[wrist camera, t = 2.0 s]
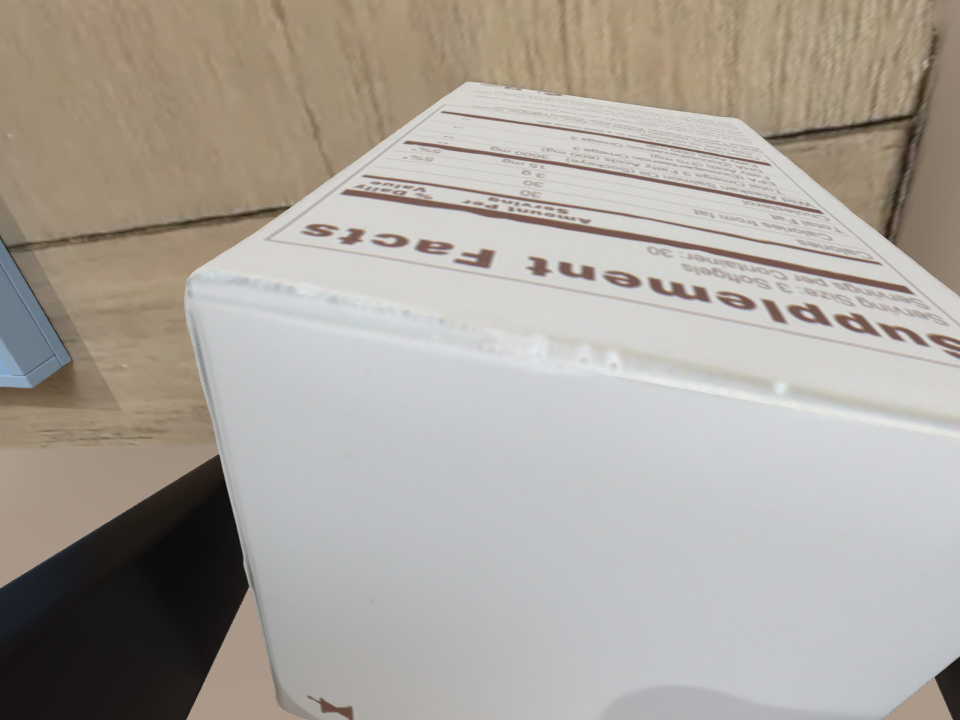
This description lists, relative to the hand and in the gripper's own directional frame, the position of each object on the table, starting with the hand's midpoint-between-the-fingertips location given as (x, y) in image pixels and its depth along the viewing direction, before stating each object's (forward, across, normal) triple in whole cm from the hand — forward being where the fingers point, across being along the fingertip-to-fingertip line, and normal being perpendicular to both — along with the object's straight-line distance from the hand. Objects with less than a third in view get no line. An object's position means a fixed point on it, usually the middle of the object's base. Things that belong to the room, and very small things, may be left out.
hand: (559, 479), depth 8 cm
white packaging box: (+10, 0, 0) cm, 10 cm away
